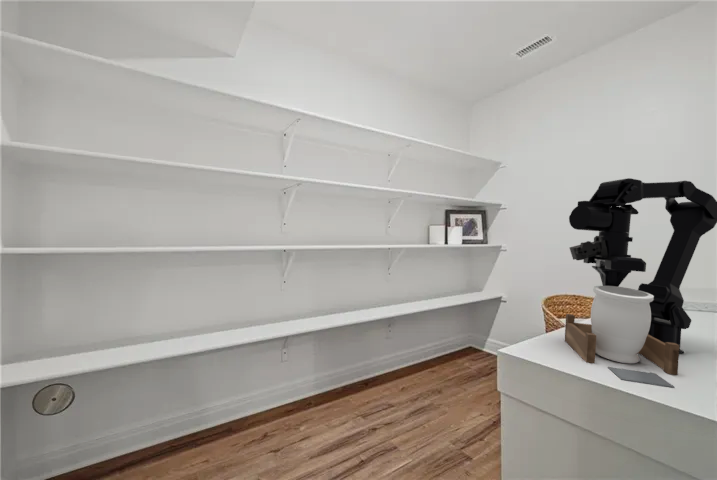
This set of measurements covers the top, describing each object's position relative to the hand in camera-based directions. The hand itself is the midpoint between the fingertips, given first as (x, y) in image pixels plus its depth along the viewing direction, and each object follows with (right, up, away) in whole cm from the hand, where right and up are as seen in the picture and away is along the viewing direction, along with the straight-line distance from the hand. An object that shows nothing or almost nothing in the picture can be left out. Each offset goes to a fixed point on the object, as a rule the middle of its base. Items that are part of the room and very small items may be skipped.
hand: (607, 296), depth 78 cm
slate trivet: (-6, -13, -15) cm, 21 cm away
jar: (-2, -13, -5) cm, 14 cm away
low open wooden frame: (-2, -13, -5) cm, 14 cm away
